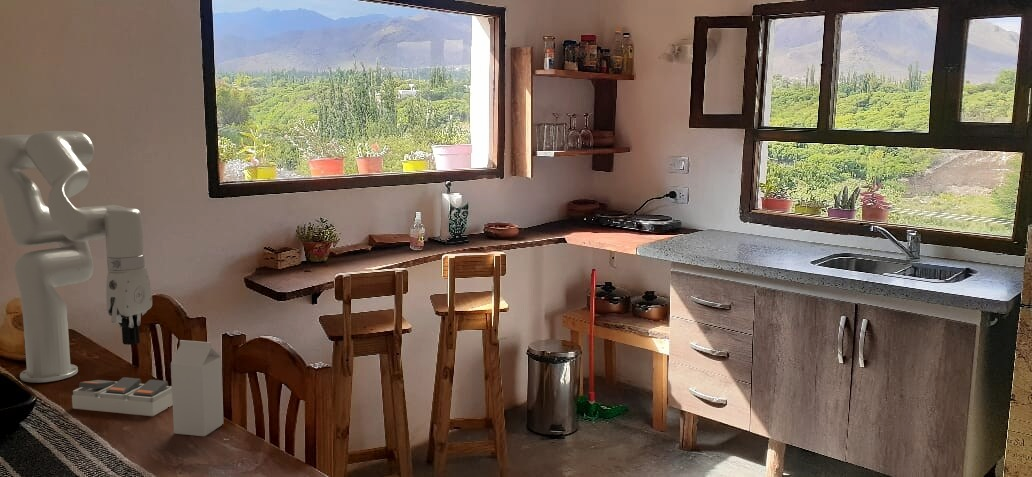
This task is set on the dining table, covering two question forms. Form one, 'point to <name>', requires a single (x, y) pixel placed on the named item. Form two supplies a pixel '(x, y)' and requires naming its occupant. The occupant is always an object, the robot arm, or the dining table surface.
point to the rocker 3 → (151, 388)
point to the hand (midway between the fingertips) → (131, 343)
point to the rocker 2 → (124, 385)
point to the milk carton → (196, 389)
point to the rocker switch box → (121, 401)
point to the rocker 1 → (96, 384)
